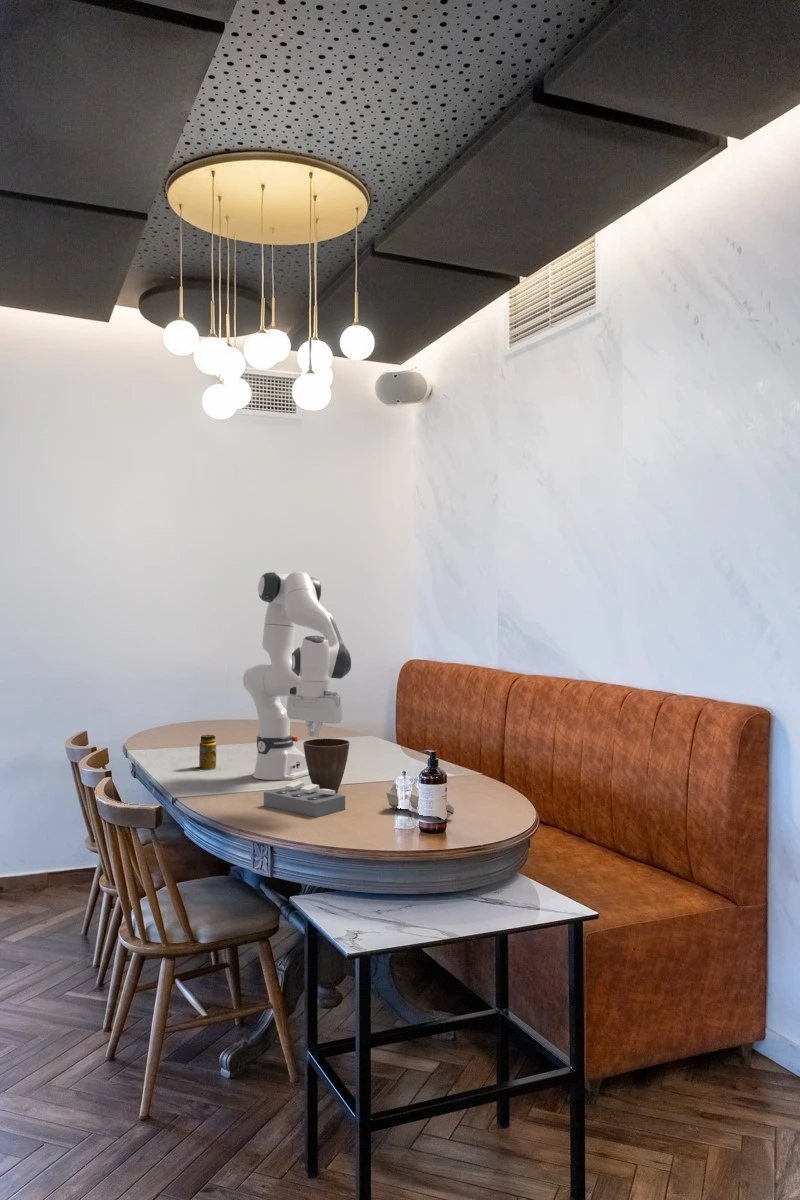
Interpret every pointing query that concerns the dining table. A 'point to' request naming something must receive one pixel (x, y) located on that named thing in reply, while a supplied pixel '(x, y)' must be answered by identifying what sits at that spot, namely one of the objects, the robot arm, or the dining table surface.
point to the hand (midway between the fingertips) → (313, 736)
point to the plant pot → (326, 761)
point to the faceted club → (413, 799)
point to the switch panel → (304, 801)
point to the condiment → (207, 753)
